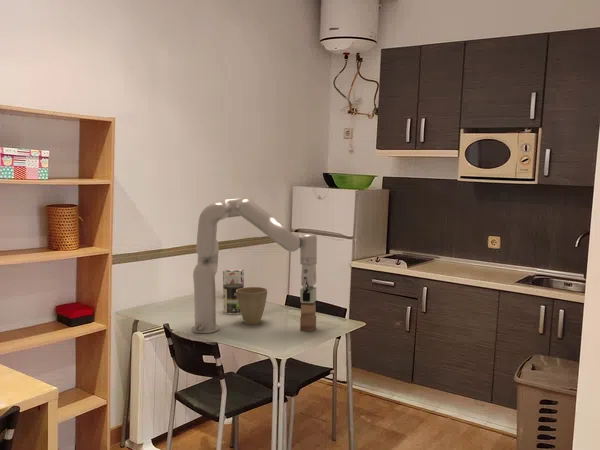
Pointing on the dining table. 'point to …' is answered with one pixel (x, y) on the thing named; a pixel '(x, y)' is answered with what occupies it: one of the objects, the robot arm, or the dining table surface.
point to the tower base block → (307, 324)
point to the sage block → (312, 295)
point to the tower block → (308, 310)
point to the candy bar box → (233, 277)
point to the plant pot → (252, 303)
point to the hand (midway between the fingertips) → (308, 299)
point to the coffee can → (231, 299)
